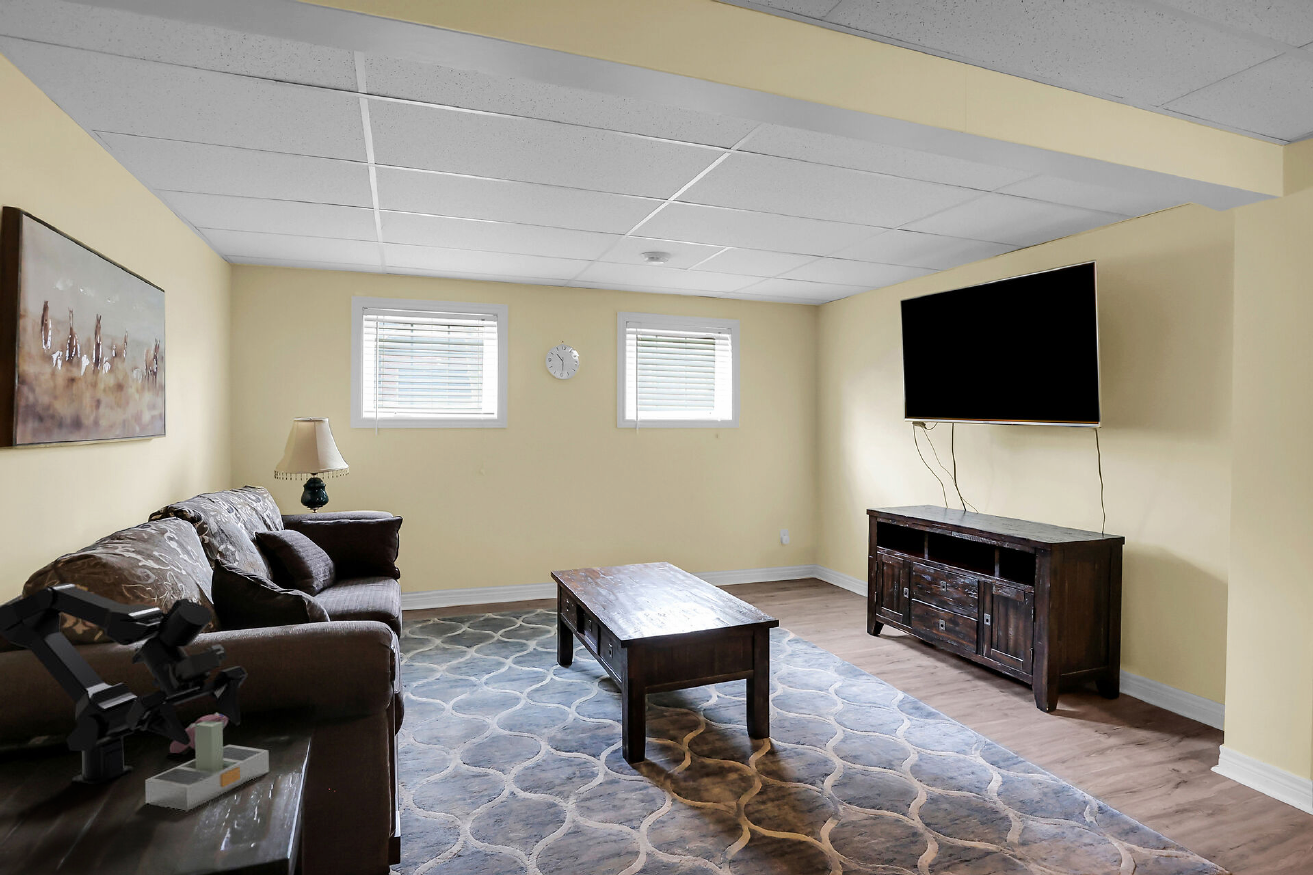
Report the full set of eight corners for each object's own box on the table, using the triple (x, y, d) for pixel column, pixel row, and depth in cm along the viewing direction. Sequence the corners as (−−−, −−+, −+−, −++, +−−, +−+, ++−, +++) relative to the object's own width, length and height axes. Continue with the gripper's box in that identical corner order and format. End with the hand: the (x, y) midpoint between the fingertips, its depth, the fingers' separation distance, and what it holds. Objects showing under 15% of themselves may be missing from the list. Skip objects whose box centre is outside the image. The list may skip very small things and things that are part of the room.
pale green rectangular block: (196, 782, 122) (194, 724, 122) (207, 777, 124) (205, 720, 124) (212, 785, 120) (211, 726, 121) (223, 780, 122) (222, 722, 122)
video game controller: (183, 763, 136) (196, 731, 136) (165, 752, 137) (178, 720, 137) (223, 743, 146) (236, 713, 146) (206, 732, 147) (218, 702, 146)
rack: (145, 802, 117) (145, 779, 117) (229, 765, 131) (229, 744, 131) (188, 811, 113) (188, 787, 113) (270, 771, 127) (269, 750, 127)
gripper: (135, 648, 116) (183, 722, 111) (239, 622, 133) (284, 685, 129) (105, 692, 118) (150, 766, 114) (211, 661, 135) (253, 724, 131)
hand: (214, 732), depth 122 cm, fingers open, 9 cm apart
